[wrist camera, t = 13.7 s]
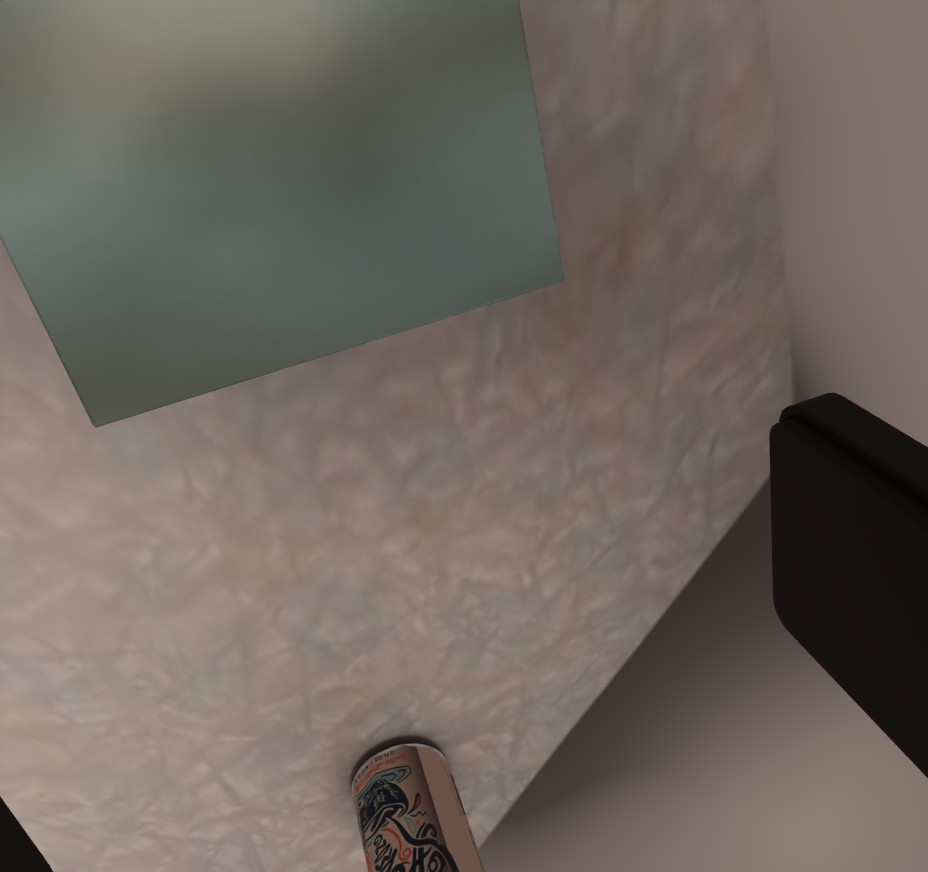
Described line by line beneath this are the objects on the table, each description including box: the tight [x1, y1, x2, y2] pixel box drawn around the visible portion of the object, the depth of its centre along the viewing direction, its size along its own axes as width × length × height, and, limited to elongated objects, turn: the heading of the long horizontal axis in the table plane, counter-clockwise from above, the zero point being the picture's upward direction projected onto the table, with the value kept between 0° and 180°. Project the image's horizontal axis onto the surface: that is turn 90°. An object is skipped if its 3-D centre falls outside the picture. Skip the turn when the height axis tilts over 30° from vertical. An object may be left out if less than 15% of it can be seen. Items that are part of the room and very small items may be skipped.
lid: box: [0, 0, 564, 427], centre depth 17 cm, size 14×13×6 cm
